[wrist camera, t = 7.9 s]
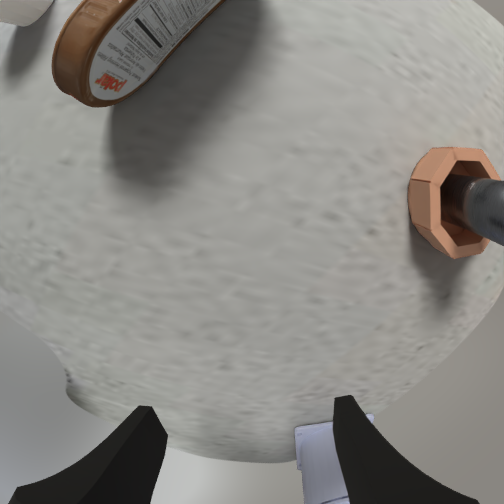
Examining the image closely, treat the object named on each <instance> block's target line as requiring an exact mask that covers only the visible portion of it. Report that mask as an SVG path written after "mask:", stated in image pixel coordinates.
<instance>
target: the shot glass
mask: <svg viewBox="0 0 504 504" xmlns="http://www.w3.org/2000/svg"><path fill="white" fill-rule="evenodd" d="M53 1H54V0H0V22H5V23H9V24H14V25H18V26H22V27H25V26H29V25H31V24H32V23H34V22H35V21H37V20H38V19H39V18H40V17H41V16H42V15H43V14H44V13H45V12H46V10H47V9H48V8H49V7H50V5H51V4H52V3H53Z"/></svg>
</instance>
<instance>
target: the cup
mask: <svg viewBox="0 0 504 504" xmlns="http://www.w3.org/2000/svg"><path fill="white" fill-rule="evenodd" d="M448 174H458V175H466V176H474V177H481V178H488V179H494V180H500V181H501V179H500V177H499V175H498V174H497V172H496V170H495V169H494V167H493V166H492V164H491V162H490V161H489V159H488V158H487V156H486V154H485V153H484V151H483V150H481V149H473V148H458V147H443V148H432V149H430V151H429V152H428V153H427V154H426V155H424V156H423V157H422V158H421V159H420V161H419V162H418V163H417V165H416V166H415V168H414V170H413V172H412V175H411V178H410V182H409V187H408V207H409V212H410V216H411V219H412V222H413V224H414V226H415V227H416V229H417V230H418V232H419V233H420V234H421V235H422V236H423V237H424V238H425V239H427V240H428V241H429V242H430V244H431V245H432V246H433V247H434V248H435V249H437V250H439V251H441V252H442V253H444V254H446V255H448V256H449V257H451V258H453V259H456V258H461V257H466V256H471V255H476V254H481V252H483V251H484V249H485V248H486V246H487V245H488V243H489V241H490V240H489V239H487V238H485V237H482V236H480V235H478V234H475V233H473V232H470V231H468V230H466V229H463V228H461V227H458V226H456V225H453V224H450V223H448V222H445V221H443V220H441V211H440V186H441V184H442V183H443V181H444V180H445V178H446V177H447V175H448Z"/></svg>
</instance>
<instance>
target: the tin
mask: <svg viewBox="0 0 504 504" xmlns="http://www.w3.org/2000/svg"><path fill="white" fill-rule="evenodd" d="M224 1H225V0H83V1H82V2H81V3H80V4H79V5H78V7H77V8H76V9H75V10H74V11H73V13H72V14H71V15H70V16H69V18H68V19H67V21H66V23H65V24H64V26H63V28H62V30H61V32H60V34H59V36H58V39H57V41H56V44H55V48H54V52H53V56H52V74H53V78H54V82H55V83H56V85H57V86H58V88H59V89H60V90H61V91H62V92H64V93H66V94H68V95H71V96H73V97H74V98H76V99H77V100H78V101H80V102H82V103H83V104H85V105H87V106H90V107H107V106H112V105H115V104H117V103H119V102H121V101H123V100H124V99H126V98H127V97H129V96H130V95H132V94H133V93H134V92H136V91H137V90H138V89H139V88H140V87H142V86H143V85H144V84H145V83H146V82H147V81H148V80H149V79H150V78H151V77H152V76H153V75H154V73H155V72H156V71H157V70H158V69H159V68H160V66H161V65H162V64H163V63H164V62H165V61H166V59H167V58H168V57H169V56H170V55H171V54H172V53H173V52H174V50H175V49H176V48H177V47H178V46H179V45H180V44H181V43H182V42H183V41H184V40H185V39H186V38H187V37H188V36H189V35H190V34H191V33H192V31H193V30H194V29H195V28H196V27H197V26H198V25H200V24H201V23H202V22H203V21H204V20H205V19H206V18H207V17H208V16H209V15H210V14H211V13H212V12H213V11H214V10H215V9H216V8H217V7H219V6H220V5H221V4H222V3H223V2H224Z"/></svg>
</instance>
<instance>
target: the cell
mask: <svg viewBox="0 0 504 504" xmlns="http://www.w3.org/2000/svg"><path fill="white" fill-rule="evenodd" d="M440 211H441V220H443V221H445V222H448V223H450V224H453V225H456V226H458V227H461V228H463V229H466V230H468V231H470V232H473V233H475V234H478V235H480V236H482V237H485V238H487V239H489V240H491V241H494V242H496V243H498V244H500V245H502V246H504V181H500V180H494V179H488V178H481V177H474V176H466V175H458V174H448V175H447V177H446V178H445V180H444V181H443V183H442V184H441V186H440Z"/></svg>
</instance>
